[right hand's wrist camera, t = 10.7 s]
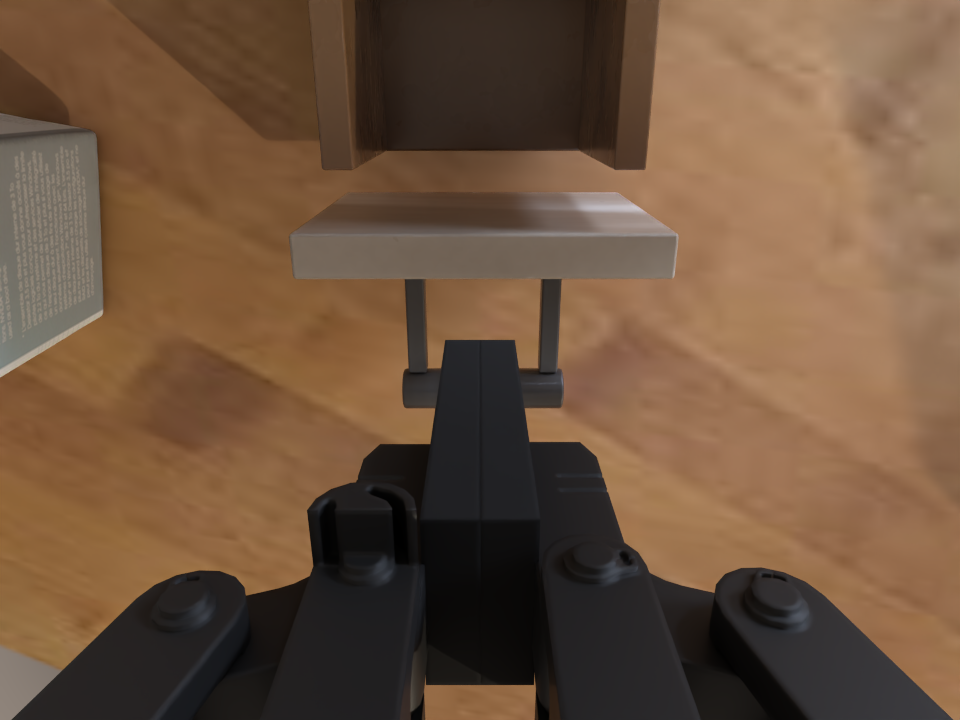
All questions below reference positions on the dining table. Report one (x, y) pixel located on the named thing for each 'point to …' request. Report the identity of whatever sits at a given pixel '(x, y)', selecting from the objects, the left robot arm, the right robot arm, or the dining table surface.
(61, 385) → the dining table surface
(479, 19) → the drawer
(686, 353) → the dining table surface
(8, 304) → the hard drive box
